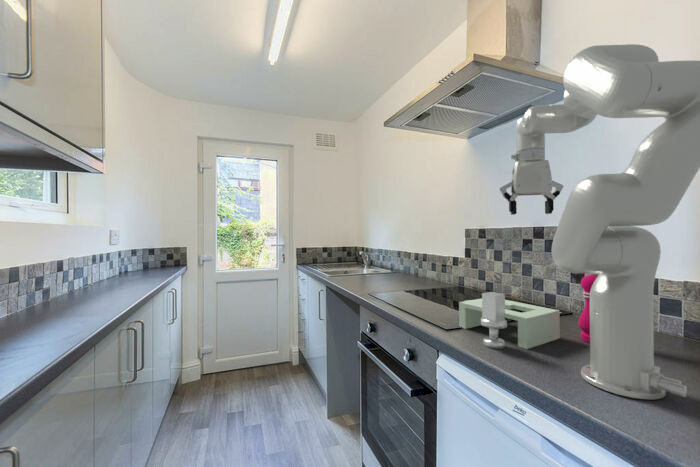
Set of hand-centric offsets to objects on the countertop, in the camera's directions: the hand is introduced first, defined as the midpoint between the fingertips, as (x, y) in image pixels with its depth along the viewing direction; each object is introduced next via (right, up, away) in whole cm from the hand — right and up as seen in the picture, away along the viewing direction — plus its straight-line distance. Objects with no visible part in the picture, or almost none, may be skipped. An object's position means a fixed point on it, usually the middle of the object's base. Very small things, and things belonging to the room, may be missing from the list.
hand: (530, 214), depth 93 cm
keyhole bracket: (-7, -36, 0) cm, 37 cm away
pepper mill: (+13, -36, -8) cm, 39 cm away
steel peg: (-16, -36, -10) cm, 41 cm away
